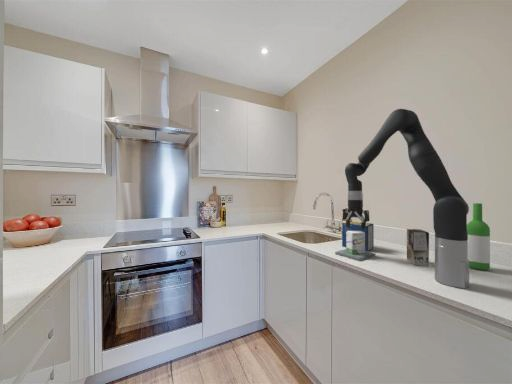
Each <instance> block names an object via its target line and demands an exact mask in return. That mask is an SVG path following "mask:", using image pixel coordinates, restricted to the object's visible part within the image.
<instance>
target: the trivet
mask: <svg viewBox="0 0 512 384" xmlns="http://www.w3.org/2000/svg"><path fill="white" fill-rule="evenodd" d="M334 253H335V255H337V256H340V257H344V258H347V259H351V260H354V261H357V262H361V261H364V260H366V259H367V260H368V259H370V258H373V257H376V253H375V252H370V251H365V253H362V254H350V253H348V252H346V248H345V249H341V250H338V251H337V250H336V251H335V252H334Z"/></svg>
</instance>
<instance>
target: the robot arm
mask: <svg viewBox="0 0 512 384" xmlns="http://www.w3.org/2000/svg"><path fill="white" fill-rule="evenodd" d="M397 132H399V133H400V134H401V135H402V136H403V138H404V140H405V142H406V145H407V152H408V153H407V154H408V160H409V162H410V163H411V166H412V167H413V170H414V171H415V173H416V175H417V176H418V177H419V178H420V180H421V181H422V182H423V183H424V184H425V185H426V187H427V188H428V189H429V191H430V192H431V194H432V197H433V199H434V202H435V203H434V205H433V208H432V213H433V215H432V217H433V220H432V221H433V223H432V224H433V231H434V280H435V281H436V282H438V283H439V284H441V285H442V284H443V285H445V286H450V287H453V288H454V287H455V288H460V289H467V288H468V287H469V285H470V268H469V260H468V233H467V224H468V223H467V222H468V221H467V218H468V217H467V215H468V214H469V212H470V209H469V208H470V207H469V203H467V201H466V200H465V199H464V198H463V196H462V195H461V194H460V193H459V191H458V190H457V188H456V187H455V185H454V184H453V182H452V181H451V178H450V176H449V174H448V171H447V169H446V167H445V165H444V163H443V161H442V159H441V157H440V156H439V154H438V152H437V150H436V149H435V147H434V146H433V144H432V143H431V141H430V140H429V138H428V137H427V134H425V130H424V129H423V126H422V124H421V122H420V119H419V116H418V114H417V113H416V112H415V111H412V110H410V109H406V108H398V109H395V110H394V111H392V112H391V113H390V114H389V115H388V117H387V118H386V120H385V121H384V123H383V124H382V125H381V127H380V129H379V130H378V131H377V133H376V134H375V135H374V137H373V139H371V141H370V142H369V144H368V145H367V146H366V147H365V148H364V149H363V150H362V151H361V152H360V153H359V155H358V157H357V160H358V162H356V163H354V162H350V163H348V164H346V166H345V168H344V175H345V177H346V181H347V186H348V187H347V188H348V189H347V208H343V209H342V220H345V222H346V226H347V227H350V221H351V219H353V218H358V219H359V220H360V222H361V229H365V228H366V223H369V222H370V211H369V210H368V209H367V210H366V209H363V208H364V197H363V195H364V194H363V182H362V181H361V180H359V179H358V177H361V176H362V175H364V174H365V173H366V171H367V170H368V168H369V166H370V165H371V164H372V162H374V160H375V159H376V158H378V156H379V155H380V154H381V152H382V151H383V149H384V147H385V145H386V143H387V141H388V140H389V139H391V137H392V136H393V135H395V134H396V133H397Z"/></svg>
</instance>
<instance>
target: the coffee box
mask: <svg viewBox="0 0 512 384" xmlns="http://www.w3.org/2000/svg"><path fill="white" fill-rule="evenodd" d="M429 256H430V232H428V231H426V230H422V229H420V228H419V229H417V228H412V229H411V228H406V261H408V262H409V263H411V264H412V265H413V266H420V267H430V265H429V264H430V262H429V261H430V258H429Z"/></svg>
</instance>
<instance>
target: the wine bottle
mask: <svg viewBox="0 0 512 384" xmlns="http://www.w3.org/2000/svg"><path fill="white" fill-rule="evenodd" d="M490 228H491V227H490V226H489V225H488V224H487V223H486V222H485V221H484V220H483V203H479V202H476V203H475V202H474V203H472V219H471V221H469V222H468V223H467V233H468V260H469V269H473V270H477V271H489V270H490V269H491V229H490Z"/></svg>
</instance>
